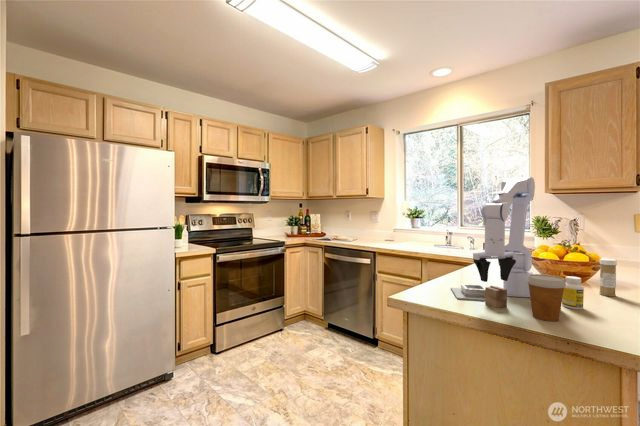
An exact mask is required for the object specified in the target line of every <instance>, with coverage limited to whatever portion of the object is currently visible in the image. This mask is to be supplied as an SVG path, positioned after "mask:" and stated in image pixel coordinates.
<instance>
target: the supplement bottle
mask: <svg viewBox="0 0 640 426" xmlns="http://www.w3.org/2000/svg"><path fill="white" fill-rule="evenodd" d="M564 281H565V283H566V286H565V287H564V292H563V298H562V304H561V306H563V307H564V308H567V309H573V310H583V309H584V299H585V298H584V296H585V295H584V292H585V287H584V286H583V285H582V284H581V283H582V278H581V277H580V276H579V277H578V276H573V275H572V276H569V275H568V276H567V275H566V276H565V278H564Z"/></svg>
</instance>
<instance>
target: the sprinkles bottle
mask: <svg viewBox="0 0 640 426" xmlns="http://www.w3.org/2000/svg"><path fill="white" fill-rule="evenodd" d="M599 264H600V266H599V267H600V268H599V269H600V271H599V293H598V294H599V295H601V296H605V297H616V285H617V264H618V262H617V260H616V259H613V258H603V257H602V258H599Z"/></svg>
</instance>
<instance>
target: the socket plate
mask: <svg viewBox="0 0 640 426" xmlns="http://www.w3.org/2000/svg"><path fill="white" fill-rule="evenodd" d="M450 290H451V292H452V293H453V296H454V297H455V298H456V300H461V301H462V300H463V301H474V300H475V301H477V302H485V297H476V296H465V295H464V294H463V292H462V291H461V287H450Z"/></svg>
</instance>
